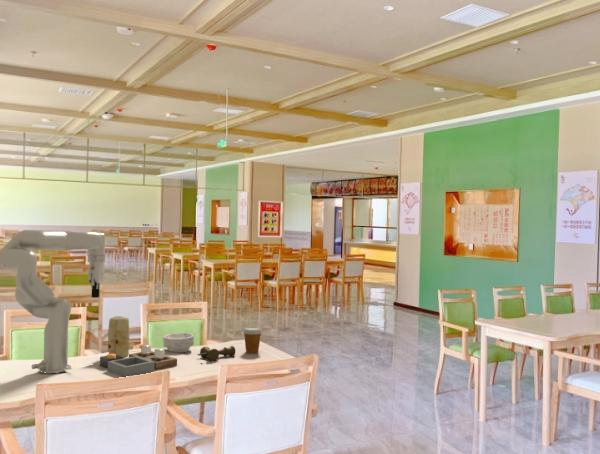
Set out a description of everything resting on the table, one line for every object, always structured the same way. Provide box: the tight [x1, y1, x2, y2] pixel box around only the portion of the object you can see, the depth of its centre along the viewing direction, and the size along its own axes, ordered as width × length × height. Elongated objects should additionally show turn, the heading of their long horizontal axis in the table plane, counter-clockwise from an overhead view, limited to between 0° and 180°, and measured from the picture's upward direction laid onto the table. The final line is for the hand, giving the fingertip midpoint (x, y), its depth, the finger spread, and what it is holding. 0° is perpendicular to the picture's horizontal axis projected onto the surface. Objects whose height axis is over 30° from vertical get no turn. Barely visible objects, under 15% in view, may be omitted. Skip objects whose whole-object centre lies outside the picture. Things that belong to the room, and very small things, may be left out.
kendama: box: [197, 345, 236, 362], centre depth 266 cm, size 6×10×20 cm
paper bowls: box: [162, 332, 195, 354], centre depth 279 cm, size 15×15×8 cm
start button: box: [106, 353, 116, 359], centre depth 243 cm, size 4×4×4 cm
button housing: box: [99, 355, 123, 370], centre depth 243 cm, size 7×7×5 cm
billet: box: [154, 347, 166, 361], centre depth 247 cm, size 4×4×7 cm
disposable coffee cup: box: [243, 326, 263, 354], centre depth 280 cm, size 10×10×12 cm
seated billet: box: [140, 344, 152, 357], centre depth 254 cm, size 4×4×7 cm
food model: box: [107, 315, 130, 358], centre depth 260 cm, size 10×7×20 cm
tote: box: [107, 356, 155, 377], centre depth 236 cm, size 14×14×5 cm
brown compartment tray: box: [128, 350, 178, 371], centre depth 250 cm, size 22×11×4 cm, turn 48°
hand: (95, 297), depth 260 cm, fingers closed
